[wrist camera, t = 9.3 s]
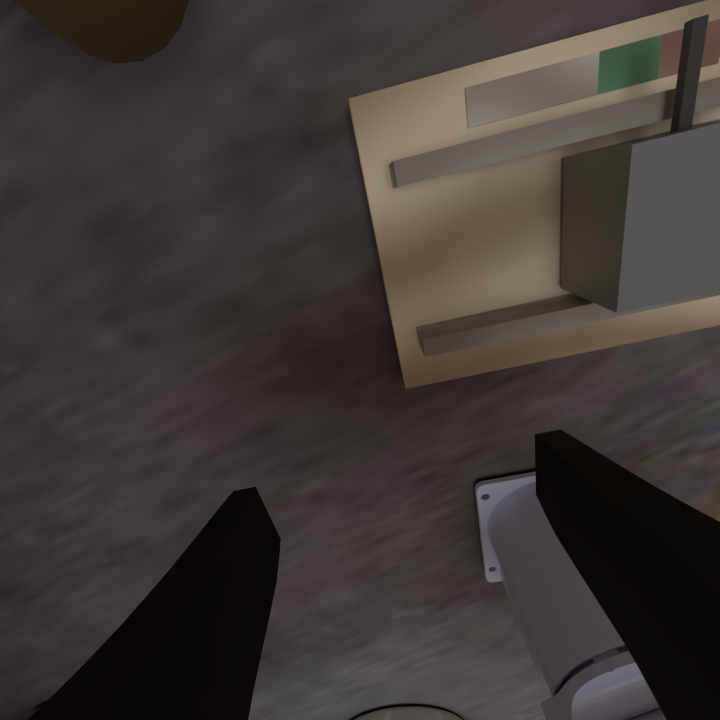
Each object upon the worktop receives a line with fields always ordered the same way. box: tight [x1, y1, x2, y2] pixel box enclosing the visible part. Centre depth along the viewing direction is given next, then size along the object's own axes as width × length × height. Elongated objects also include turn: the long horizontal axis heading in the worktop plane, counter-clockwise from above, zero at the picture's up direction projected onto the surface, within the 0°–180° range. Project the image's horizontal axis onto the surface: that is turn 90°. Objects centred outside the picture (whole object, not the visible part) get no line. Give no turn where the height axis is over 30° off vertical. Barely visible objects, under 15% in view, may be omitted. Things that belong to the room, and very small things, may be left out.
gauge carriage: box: [561, 14, 720, 313], centre depth 12 cm, size 8×5×4 cm, turn 13°
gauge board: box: [348, 0, 720, 389], centre depth 14 cm, size 12×19×3 cm, turn 103°
